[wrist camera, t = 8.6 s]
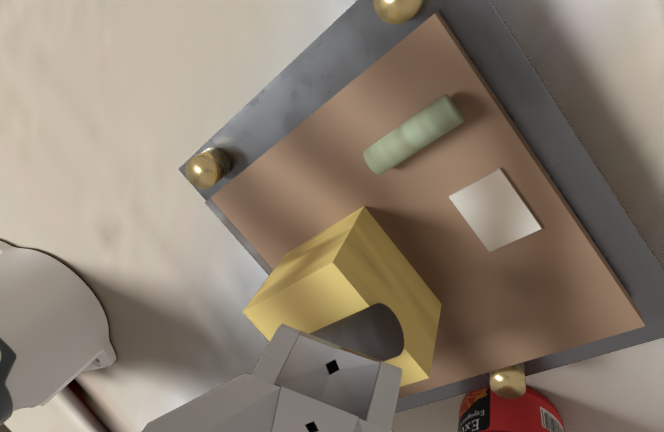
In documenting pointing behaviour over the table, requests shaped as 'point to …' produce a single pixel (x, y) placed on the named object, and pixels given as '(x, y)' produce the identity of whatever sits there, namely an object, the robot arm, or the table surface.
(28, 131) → the table surface
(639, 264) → the grey tray
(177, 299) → the table surface
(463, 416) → the canned food
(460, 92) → the level plate
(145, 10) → the table surface
